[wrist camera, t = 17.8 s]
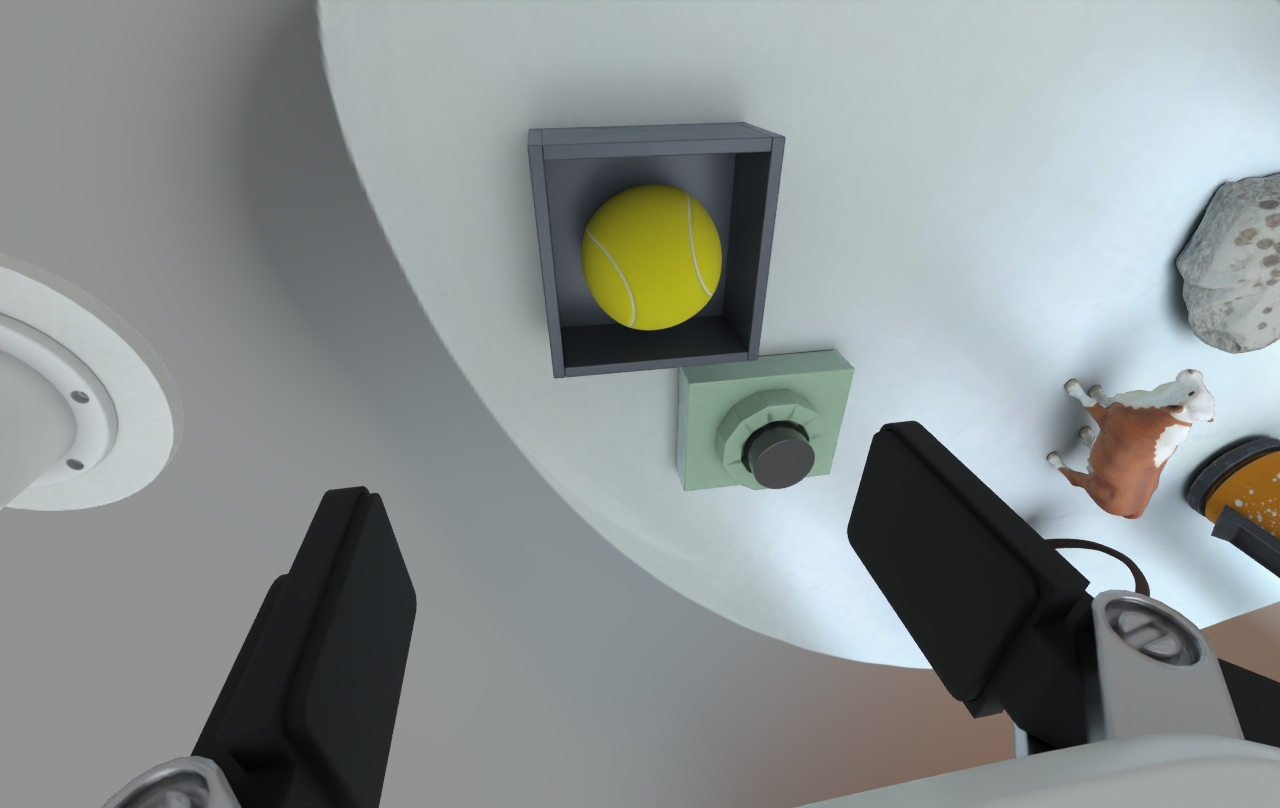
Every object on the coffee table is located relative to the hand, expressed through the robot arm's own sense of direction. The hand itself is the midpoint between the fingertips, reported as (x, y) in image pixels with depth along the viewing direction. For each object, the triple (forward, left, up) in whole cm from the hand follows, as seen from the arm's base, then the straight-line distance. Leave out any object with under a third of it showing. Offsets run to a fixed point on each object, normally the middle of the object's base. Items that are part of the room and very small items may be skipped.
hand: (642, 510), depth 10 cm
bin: (+4, -1, -23) cm, 23 cm away
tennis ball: (+4, -1, -23) cm, 23 cm away
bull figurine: (+40, -17, -23) cm, 49 cm away
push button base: (+12, -14, -23) cm, 30 cm away
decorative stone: (+46, -5, -23) cm, 52 cm away
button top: (+12, -14, -19) cm, 27 cm away
